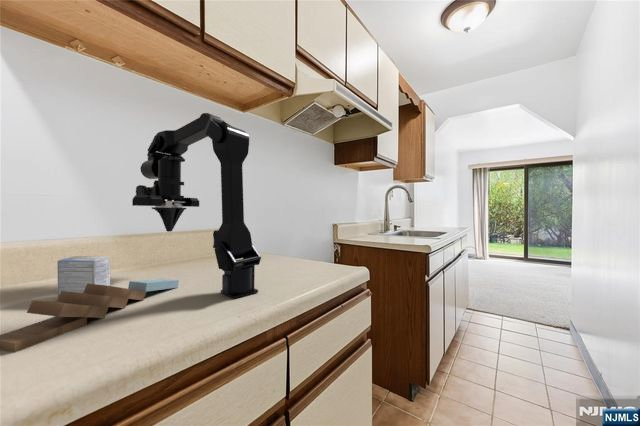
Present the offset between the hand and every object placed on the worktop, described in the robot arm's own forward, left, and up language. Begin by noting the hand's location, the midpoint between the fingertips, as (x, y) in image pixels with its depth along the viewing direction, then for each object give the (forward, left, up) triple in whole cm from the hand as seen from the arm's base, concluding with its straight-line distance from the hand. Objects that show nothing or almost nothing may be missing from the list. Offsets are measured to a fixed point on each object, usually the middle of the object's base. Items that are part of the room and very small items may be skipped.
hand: (169, 231), depth 76 cm
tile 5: (+22, +22, -13) cm, 33 cm away
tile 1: (+3, +11, -12) cm, 17 cm away
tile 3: (+16, +18, -12) cm, 27 cm away
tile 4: (+19, +21, -12) cm, 31 cm away
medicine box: (+19, +6, -13) cm, 24 cm away
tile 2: (+12, +15, -12) cm, 23 cm away
